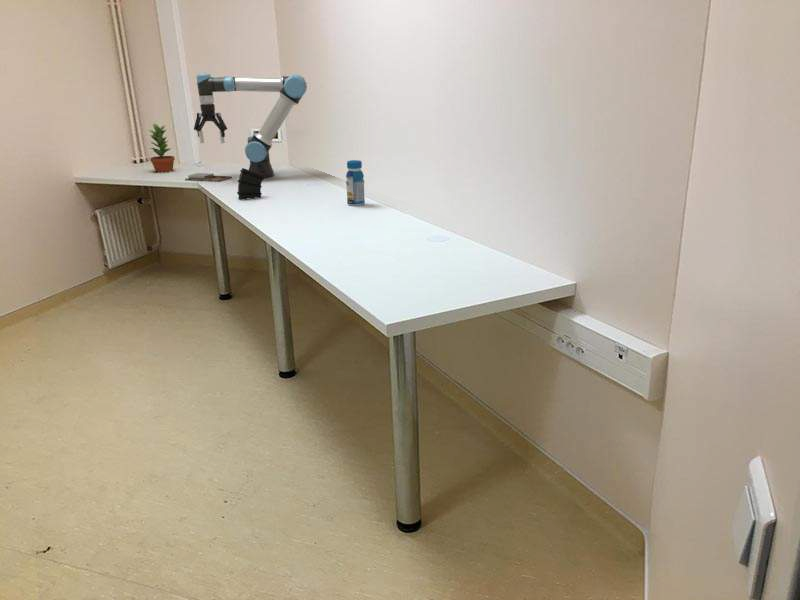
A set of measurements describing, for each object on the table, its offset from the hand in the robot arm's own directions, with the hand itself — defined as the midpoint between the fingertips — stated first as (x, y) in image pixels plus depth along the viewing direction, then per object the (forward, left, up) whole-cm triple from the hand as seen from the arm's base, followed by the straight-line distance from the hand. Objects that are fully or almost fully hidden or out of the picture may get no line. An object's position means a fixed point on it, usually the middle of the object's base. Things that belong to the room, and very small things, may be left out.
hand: (212, 143), depth 350 cm
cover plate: (+11, 0, -20) cm, 23 cm away
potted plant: (+55, -24, -22) cm, 64 cm away
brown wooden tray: (+6, 0, -22) cm, 22 cm away
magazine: (-46, +38, -22) cm, 63 cm away
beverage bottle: (-103, +40, -22) cm, 112 cm away
